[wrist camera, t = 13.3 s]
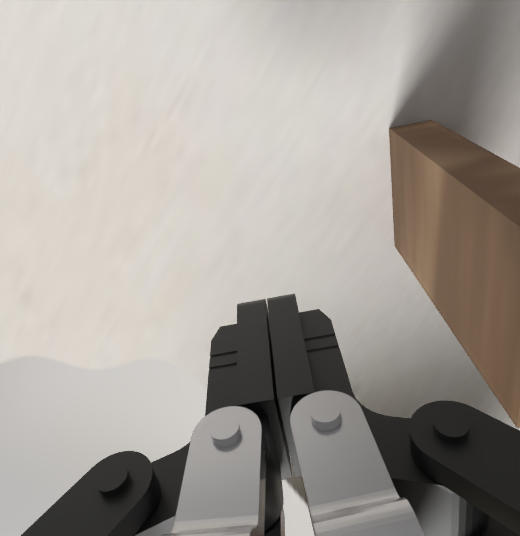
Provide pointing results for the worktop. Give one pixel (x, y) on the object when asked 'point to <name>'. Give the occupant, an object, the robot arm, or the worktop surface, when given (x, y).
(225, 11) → the worktop surface
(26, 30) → the worktop surface
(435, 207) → the domino
